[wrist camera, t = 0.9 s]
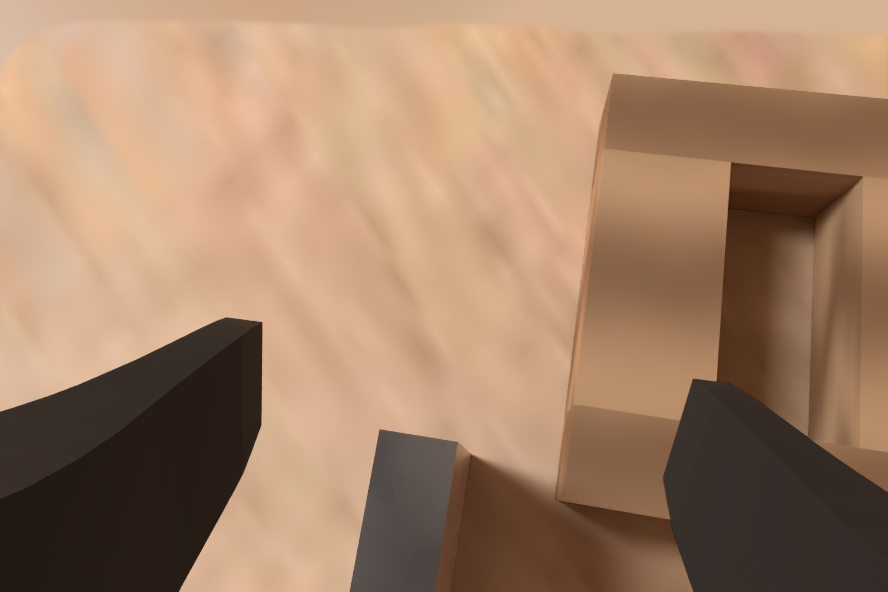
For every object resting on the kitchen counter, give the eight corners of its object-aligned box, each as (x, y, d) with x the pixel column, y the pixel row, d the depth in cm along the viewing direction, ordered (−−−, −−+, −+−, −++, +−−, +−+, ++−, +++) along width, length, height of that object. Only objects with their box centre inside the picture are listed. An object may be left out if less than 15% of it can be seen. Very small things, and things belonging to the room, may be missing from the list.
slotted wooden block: (938, 564, 22) (1017, 578, 18) (554, 499, 23) (563, 501, 20) (933, 159, 25) (999, 109, 22) (599, 125, 27) (613, 73, 23)
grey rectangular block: (443, 641, 22) (416, 708, 16) (382, 629, 23) (331, 690, 16) (471, 454, 24) (458, 442, 17) (414, 445, 24) (379, 429, 17)
